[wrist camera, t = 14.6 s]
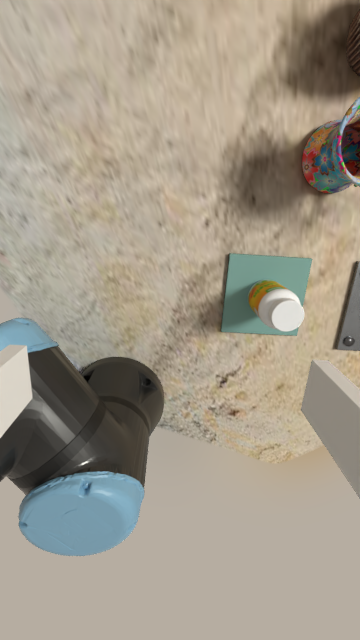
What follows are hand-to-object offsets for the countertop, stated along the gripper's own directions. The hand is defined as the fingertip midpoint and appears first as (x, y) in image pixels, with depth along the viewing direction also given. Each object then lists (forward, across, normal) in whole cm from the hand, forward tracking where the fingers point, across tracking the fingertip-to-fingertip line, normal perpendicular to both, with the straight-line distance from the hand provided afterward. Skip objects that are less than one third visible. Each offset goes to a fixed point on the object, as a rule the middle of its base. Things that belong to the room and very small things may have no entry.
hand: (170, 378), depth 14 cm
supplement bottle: (+31, -14, +3) cm, 34 cm away
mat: (+32, -14, +3) cm, 35 cm away
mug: (+32, -21, -15) cm, 41 cm away
